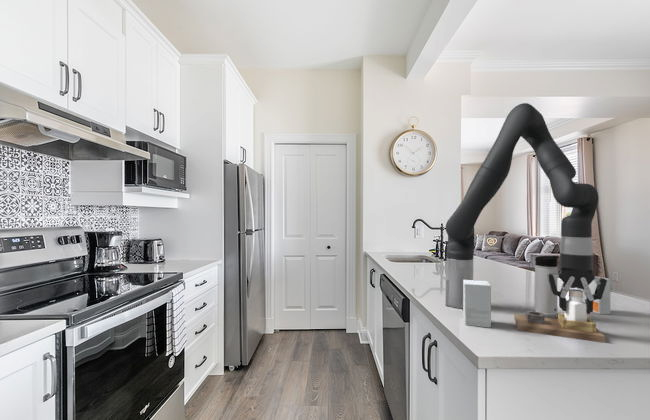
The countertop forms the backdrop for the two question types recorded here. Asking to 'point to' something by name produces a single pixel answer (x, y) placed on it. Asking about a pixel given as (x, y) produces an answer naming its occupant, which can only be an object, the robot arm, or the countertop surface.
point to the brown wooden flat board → (558, 326)
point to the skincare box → (601, 304)
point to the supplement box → (477, 303)
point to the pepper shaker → (576, 306)
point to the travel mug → (545, 286)
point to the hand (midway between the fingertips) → (575, 311)
